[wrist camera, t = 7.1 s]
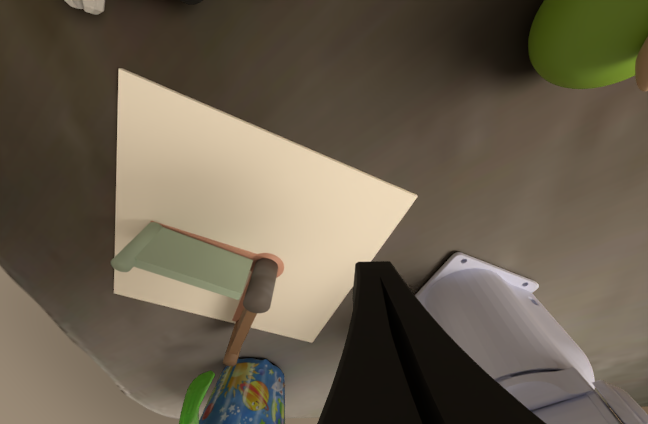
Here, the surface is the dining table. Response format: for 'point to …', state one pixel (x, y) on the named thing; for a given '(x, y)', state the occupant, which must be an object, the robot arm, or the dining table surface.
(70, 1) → the robot toy
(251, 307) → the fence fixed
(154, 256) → the fence gate
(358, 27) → the dining table surface
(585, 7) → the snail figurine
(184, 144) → the card
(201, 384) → the snack cup
